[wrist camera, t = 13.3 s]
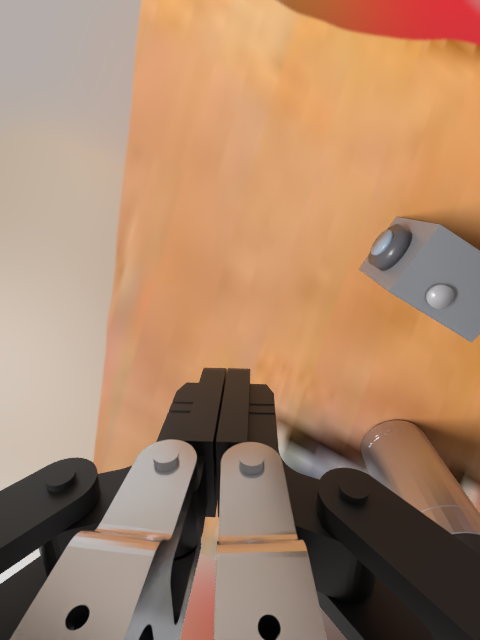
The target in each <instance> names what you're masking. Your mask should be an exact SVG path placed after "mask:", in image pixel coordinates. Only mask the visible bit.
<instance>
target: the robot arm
mask: <svg viewBox="0 0 480 640" xmlns="http://www.w3.org/2000/svg"><path fill="white" fill-rule="evenodd" d="M361 453H362V456H363V459H364V462H365V464H366V467H367V469H368V472H369V474H370V475H368V474H366V473H364V472H362V471H359V470H356V469H351V468H336V469H333V470H330V471H328V472H326V473H325V474H324V475H323V476H322V477H321V479H320V480H319V479H315V478H312V477H309V476H306V475H303V474H300V473H298V472H296V471H294V470H293V469H291V468H290V467H289V466H288V465H286V464H285V462H284V461H283V460H282V458H281V457H280V454H279V450H278V439H277V427H276V415H275V403H274V393H273V392H272V391H271V390H270V388H269V387H268V386H267V385H266V384H250V369H236V368H228V370H227V369H226V368H204V369H203V372H202V375H201V378H200V382H199V383H186V384H185V385H183V386H182V387H181V388H180V389H179V390H178V391H177V392H176V394H175V397H174V399H173V403H172V404H171V407H170V409H169V412H168V414H167V417H166V419H165V422H164V424H163V427H162V429H161V432H160V434H159V437H158V439H157V442H156V443H153V444H151V445H149V446H148V447H146V448H145V449H144V450H142V451H141V453H140V454H139V455H138V457H137V458H136V460H135V462H134V464H133V465H132V466H130V467H127V468H124V469H120V470H115V471H111V472H106V473H101V474H98V473H97V469H96V466H95V465H94V463H92V462H91V461H89V460H87V459H83V458H68V459H64V460H60V461H57V462H54V463H52V464H50V465H48V466H46V467H44V468H42V469H41V470H39V471H37V472H35V473H33V474H31V475H29V476H28V477H26V478H24V479H22V480H20V481H18V482H16V483H14V484H13V485H11V486H9V487H7V488H5V489H4V490H1V491H0V574H1V573H3V572H4V571H5V570H7V569H9V568H10V567H11V566H13V565H14V564H16V563H17V562H19V561H20V560H22V559H23V558H25V557H26V556H27V555H29V554H30V553H32V552H33V551H35V550H36V549H38V548H39V550H40V554H41V556H40V557H38V558H37V559H36V560H34V561H33V562H31V563H30V564H28V565H27V566H25V567H24V568H23V569H21V570H20V571H18V572H17V573H15V574H14V575H13V576H11V577H10V578H8V579H7V580H6V581H4V582H3V583H1V584H0V640H180V636H181V631H182V627H183V623H184V619H185V614H186V610H187V606H188V602H189V597H190V593H191V589H192V584H193V580H194V576H195V572H196V567H197V563H198V559H199V555H200V550H201V537H202V533H203V528H204V521H205V517H215V515H216V508H217V500H218V517H219V540H218V542H217V557H216V587H215V616H214V640H327V638H326V634H325V629H324V624H323V620H322V615H321V611H320V607H321V608H322V610H323V611H324V612H325V613H326V614H327V616H328V617H329V618H330V619H331V620H332V621H333V623H334V624H335V625H336V627H337V628H338V629H339V630H340V631H341V633H342V634H343V635H344V636H345V637H346V639H347V640H480V514H479V512H478V511H477V509H476V508H475V506H474V505H473V504H472V502H471V501H470V499H469V498H468V496H467V495H466V493H465V492H464V491H463V489H462V488H461V486H460V485H459V483H458V482H457V480H456V479H455V478H454V476H453V475H452V473H451V472H450V470H449V469H448V467H447V466H446V465H445V463H444V462H443V460H442V459H441V457H440V456H439V454H438V453H437V451H436V450H435V448H434V447H433V446H432V444H431V443H430V441H429V440H428V438H427V437H426V436H425V434H424V433H423V431H422V430H421V429H420V428H419V427H418V426H416V425H415V424H413V423H410V422H407V421H402V420H392V421H387V422H384V423H381V424H379V425H377V426H375V427H374V428H372V429H371V430H370V431H369V432H368V433H367V434H366V436H365V437H364V439H363V441H362V445H361Z"/></svg>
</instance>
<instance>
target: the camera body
mask: <svg viewBox="0 0 480 640" xmlns="http://www.w3.org/2000/svg"><path fill="white" fill-rule="evenodd" d="M359 270H361V271H362V272H363V273H365V274H366V275H367V276H369V277H370V278H371V279H373V280H374V281H375V282H377V283H378V284H379V285H381V286H382V287H383V288H385V289H386V290H387V291H389V292H390V293H392V294H394V295H395V296H397V297H398V298H400V299H402V300H403V301H405V302H407V303H408V304H410V305H411V306H413V307H415V308H416V309H418V310H420V311H421V312H423V313H424V314H426V315H428V316H429V317H431V318H433V319H434V320H436V321H437V322H439V323H441V324H442V325H444V326H446V327H447V328H449V329H450V330H452V331H454V332H455V333H457V334H459V335H460V336H462V337H464V338H465V339H467V340H468V341H470V342H473V341H474V339H475V338H476V337H477V336H478V335H479V334H480V250H478V249H477V248H475V247H473V246H472V245H470V244H469V243H467V242H466V241H464V240H463V239H461V238H460V237H458V236H457V235H455V234H454V233H452V232H451V231H449V230H448V229H446V228H445V227H443V226H442V225H440V224H435V223H429V222H423V221H418V220H412V219H406V218H400V217H396V218H395V220H394V221H393V222H392V224H391V225H390V227H389V228H388V229H387V230H385V231H384V232H383V233H381V234H380V235H379V237H378V238H377V239H376V240H375V242H374V243H373V245H372V248H371V251H370V254H369V256H368V257H367V259H366V260H365V261H364V263H363V264H362V266H361V267H360V268H359Z"/></svg>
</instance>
